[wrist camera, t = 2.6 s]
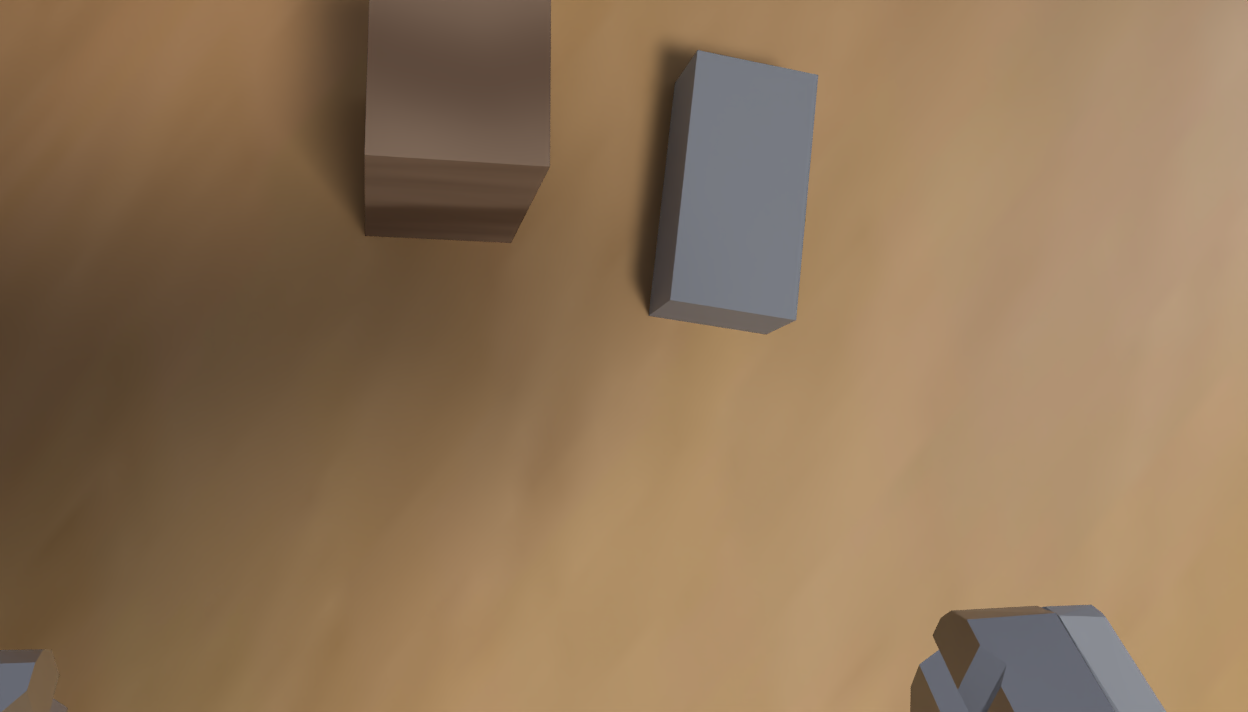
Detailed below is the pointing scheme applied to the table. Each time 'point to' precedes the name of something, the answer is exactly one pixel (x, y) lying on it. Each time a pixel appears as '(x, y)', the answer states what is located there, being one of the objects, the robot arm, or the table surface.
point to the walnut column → (456, 117)
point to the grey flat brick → (734, 195)
